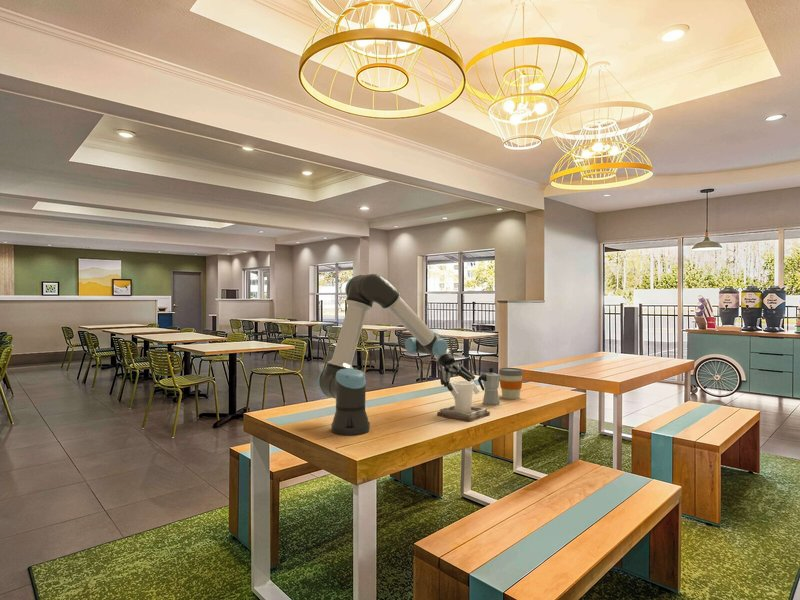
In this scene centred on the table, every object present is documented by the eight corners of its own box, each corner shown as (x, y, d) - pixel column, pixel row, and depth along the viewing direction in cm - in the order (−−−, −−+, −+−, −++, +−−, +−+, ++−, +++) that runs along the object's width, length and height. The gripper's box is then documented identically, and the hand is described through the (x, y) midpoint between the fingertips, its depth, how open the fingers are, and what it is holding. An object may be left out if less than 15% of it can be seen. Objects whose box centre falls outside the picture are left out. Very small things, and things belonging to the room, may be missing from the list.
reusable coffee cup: (494, 396, 246) (494, 369, 247) (507, 393, 255) (507, 367, 255) (514, 400, 237) (514, 371, 237) (527, 397, 246) (527, 369, 246)
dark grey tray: (469, 421, 194) (469, 415, 194) (437, 415, 205) (437, 409, 205) (489, 414, 206) (490, 408, 206) (458, 409, 218) (458, 403, 218)
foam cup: (449, 412, 204) (449, 383, 204) (457, 408, 212) (456, 380, 212) (470, 414, 199) (469, 385, 199) (476, 410, 208) (476, 381, 208)
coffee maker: (494, 400, 237) (494, 365, 238) (506, 403, 230) (506, 367, 230) (472, 403, 230) (472, 367, 230) (484, 407, 222) (484, 370, 222)
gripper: (458, 360, 226) (481, 395, 214) (420, 364, 210) (442, 402, 198) (466, 350, 221) (490, 386, 209) (428, 354, 206) (451, 392, 194)
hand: (467, 394), depth 204 cm, fingers open, 13 cm apart
